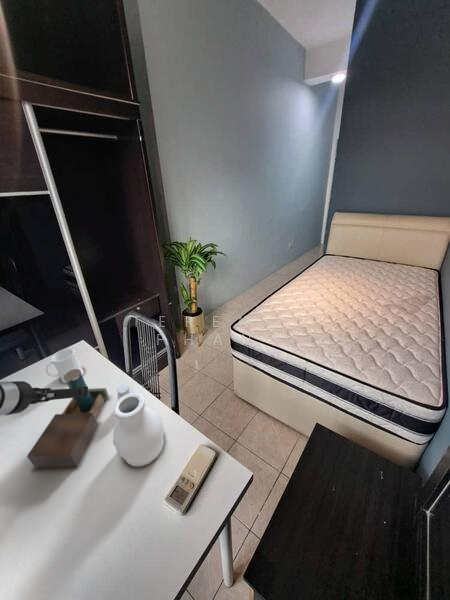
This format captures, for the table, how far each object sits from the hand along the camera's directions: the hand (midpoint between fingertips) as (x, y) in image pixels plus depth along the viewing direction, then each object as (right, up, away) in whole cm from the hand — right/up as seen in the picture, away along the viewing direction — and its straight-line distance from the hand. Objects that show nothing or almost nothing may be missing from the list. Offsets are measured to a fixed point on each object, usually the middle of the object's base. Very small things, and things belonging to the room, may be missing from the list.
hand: (65, 391), depth 78 cm
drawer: (+1, -11, +11) cm, 16 cm away
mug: (-17, -4, +28) cm, 33 cm away
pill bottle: (+15, -10, +14) cm, 22 cm away
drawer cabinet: (+1, -18, +1) cm, 18 cm away
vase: (+25, -17, -1) cm, 31 cm away
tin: (+1, -10, +11) cm, 15 cm away
